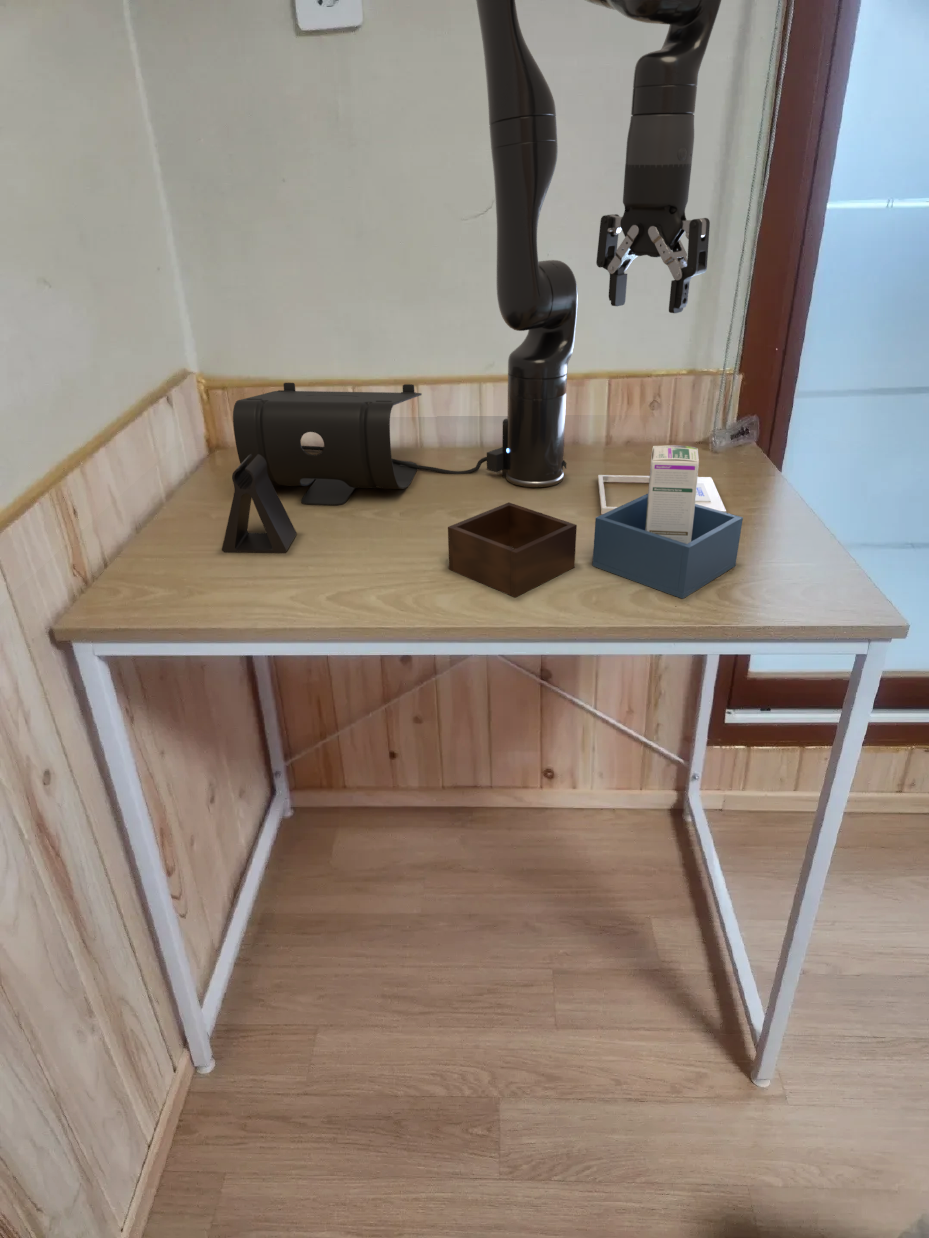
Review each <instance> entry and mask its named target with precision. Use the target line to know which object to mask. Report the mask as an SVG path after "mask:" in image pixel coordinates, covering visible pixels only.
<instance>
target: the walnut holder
mask: <svg viewBox="0 0 929 1238" xmlns="http://www.w3.org/2000/svg"><path fill="white" fill-rule="evenodd" d="M577 527H578V525H577V524H575V523H572V522H569V521H566V520H564V519H560V518H557V517H554V516H551V515H548V514H545V513H542V512H539V511H536V510H534V509H531V508H527V507H524V506H521V505H518V504H515V503H512V502H506V503H504V504H501V505H498V506H497V507H494V508H491V509H489V510H486V511H484V512H482V513H479V514H477V515H474V516H472V517H469V518H467V519H464V520H462V521H459V522H456V523H454V524H452V525H449V526H447V545H448V546H447V547H448V548H447V549H448V570H449V571H452V572H454V573H457V574H459V575H461V576H463V577H466V578H468V579H471V580H473V581H475V582H478V583H480V584H483V585H484V586H487V587H490V588H492V589H494V590H497V591H499V592H501V593H504V594H506V595H509V596H511V597H513V598H517V597H519V596H521V595H523V594H525V593H527V592H529V591H531V590H533V589H535V588H536V587H538V586H541V585H543V584H545V583H547V582H549V581H551V580H552V579H554V578H556V577H558V576H561V575H562V574H564V573H566V572H568V571H570V570H572V569H574V568H575V566H576V565H575V564H576V547H577V546H576V544H577Z"/></svg>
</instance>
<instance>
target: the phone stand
mask: <svg viewBox="0 0 929 1238" xmlns="http://www.w3.org/2000/svg"><path fill="white" fill-rule="evenodd" d="M251 457H252V454H250V455H249V456H248V457H247V458H246V459H245V460H244V461H243V462H242V463H241V464H240V463H239V465H238V466H237V468H236V469H235V470H234V471H233V473H232V475H231V477H232V478H231V479H232V484H233V487H234V488H233V489H234V490H233V491H234V492H233V497H232V501H231V507H230V511H229V515H228V520H227V524H226V529H225V533H224V538H223V543H222V547H221V551H222V552H223V553H240V554H241V553H244V554H245V553H248V554H249V553H252V554H253V553H254V552H255V553H256V554H286V553H287V551H288V550H289V548H290V546H291V545H292V543H293V541H294V540H295V538H296V536H297V535H298V533H297V531H296V529H295V526H294V525H293V523H292V521H291V518H290V516H289V515H288V513H287V511H286V509H285V506H284V505H283V503H282V501H281V499H280V496H279V495H278V493H277V491H276V488H275V487H274V485H272V483H271V481H270V479H269V477H268V474H267V463H266V460H265V459H264V458H263V457H262V456H261V455H259V454H258V455H257V456H256V457H255V458H254V459H253V460H252V462H251V463H250V464H249V465H247V461H248V460H249V459H250V458H251ZM252 501H253V504H254V507H255V509H256V512H257V514H258V517H259V519H260V522H261V523H262V526H263V528H264V531H265V532H249V531H248V528H249V522H250V514H251V513H250V512H251V505H252Z"/></svg>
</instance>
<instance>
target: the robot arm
mask: <svg viewBox="0 0 929 1238" xmlns="http://www.w3.org/2000/svg"><path fill="white" fill-rule="evenodd" d="M584 1H586V2H587V3H590V4H592V5H596V6H599V7H603V8H606V9H610V10H612V11H613V10H615V11H616V12H618V13H620V14H621V15H622V16H624V17H626V18H627V19H630V20H633V21H636V22H640V23H645V24H650V25H651V24H653V25H669V26H668V30H667V34H666V37H665V39H664V41H663V45H662V47H661V48H660V49H659V50H654V51H650V52H648V53H645V54H643V55H642V56H640V58H638V60H637V61H636V63H635V66H634V73H633V81H632V93H631V94H632V95H631V110H630V115H631V116H630V119H629V120H630V121H629V127H628V133H627V137H626V138H627V139H626V150H625V164H624V178H623V191H622V192H623V193H622V204H623V206H624V212H623V215H622V216H620V214H618V213H616V214H605V215H602V216H601V218H600V221H599V222H600V223H599V231H598V232H599V233H598V242H597V252H596V262H595V263H596V266H597V267H598V268H602V269H604V270H606V271H607V272H608V275H609V280H608V281H609V282H608V283H609V284H608V300H609V301H610V305H611V307H620V306H624V305H625V303H626V299H627V284H628V273H625V272H626V271H627V269H628V268H629V267H630V265H631V263H633V260H635V259H636V258H637V257H643V256H648V257H650V258H661V260H662V262H663V264H664V265H666V266H667V267H668V269H669V271H670V273H671V276H672V278H673V280H671V281H670V282H671V283H670V291H669V292H670V293H669V301H668V302H669V303H668V312H669V313H670V314H679V313H682V312H683V310H684V308H686V307H687V305H688V302H689V293H690V292H689V291H690V284H691V283H690V282H691V279H692V278H693V277H696V276H698V275H701V274H705V273H706V272H707V269H708V256H709V242H710V227H711V226H710V225H711V221H710V219H709V218H708V217H701V218H700V217H699V218H693V219H687V217H686V208H687V204H688V202H689V195H690V184H691V173H692V165H693V156H694V155H693V154H694V146H695V113H696V102H697V92H698V83H699V73H700V68H701V66H702V62H703V60H704V57H705V54H706V51H707V48H708V44H709V42H710V38H711V35H712V32H713V30H714V26H715V23H716V20H717V17H718V14H719V11H720V7H721V3H722V0H584ZM475 2H476V9H477V16H478V21H479V29H480V34H481V42H482V49H483V56H484V68H485V79H486V89H487V90H486V92H487V107H488V109H487V110H488V128H489V141H490V150H491V151H490V152H491V162H492V169H493V170H492V171H493V180H494V181H493V182H494V197H495V198H494V199H495V216H496V298H497V304H498V309H499V312H500V315H501V317H502V320H503V321H504V322H505V324H506V326H507V327H509V328H510V329H512V330H513V331H518V332H525V331H527V334H526V336H525V338H524V340H523V341H522V342H521V344H519V345H518V346H517V347H516V348H515V349H514V350H512V351H511V352H510V354H509V355H508V358H507V416H506V417H507V418H504V419H503V420H502V436H501V437H502V444H501V445H502V446H501V447H498V448H496V449H493V450H490V451H487V452H486V456H485V457H482V458H480V459H479V460H478V461H477V463H476V465H475V467H472V468H471V469H467V470H460V471H459V470H449V469H444V468H438V467H434V466H428V465H420V464H417V465H415V464H410V463H407V462H403V461H404V460H399V459H395V458H392V463H396V464H402V465H406V466H408V467H411V468H415V469H417V470H420V471H428V472H434V473H439V474H445V475H467V474H468V475H471V474H473V473H476V472H477V471H480V468H481V466H482V465H483V463H485V462H486V470H487V471H491V472H494V473H498V472H501V476H502V477H504V478H505V479H506V481H508V483H510V484H513V485H515V486H520V487H524V488H546V487H551V486H556V485H558V484H560V483H561V482H563V480H564V469H567V462H566V461H565V460H564V457H565V456H564V455H565V434H566V430H565V429H566V412H567V387H568V385H567V384H568V368H569V362H570V360H571V358H572V356H573V355H572V354H573V353H574V352H573V351H574V347H575V338H576V329H577V328H576V326H577V318H578V316H577V315H578V304H579V290H578V284H577V279H576V277H575V274H574V271H573V270H572V268H571V267H570V266H569V265H568V264H566V262H563V261H562V260H557V259H548V260H547V259H545V260H539V253H538V227H539V219H540V215H541V210H542V207H543V205H544V202H545V199H546V197H547V194H548V191H549V188H550V185H551V182H552V179H553V177H554V173H555V170H556V167H557V161H558V153H559V152H558V151H559V149H558V147H559V146H558V129H557V111H556V110H557V109H556V103H555V99H554V95H553V93H552V91H551V89H550V86H549V84H548V82H547V80H546V78H545V76H544V74H543V72H542V71H541V68H540V67H539V65H538V63H537V61H536V59H535V58H534V56H533V54H532V53H531V51H530V49H529V46H528V45H527V42H526V41H525V37H524V35H523V33H522V29H521V26H520V22H519V17H518V11H517V5H516V0H475ZM621 232H622V233H623V236H624V238H623V240H622V241H621V243H620V244H619V243H618V242H619V234H620V233H621ZM684 233H685V237H686V239H687V240H688V243H687V251H686V249H685V247H684V245H683V243H682V240H681V238H682V236H683V235H684ZM618 244H619V246H618ZM301 446H302V448H303V450H304V451H321V452H322V451H323V449H324V446H316V445H301Z"/></svg>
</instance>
